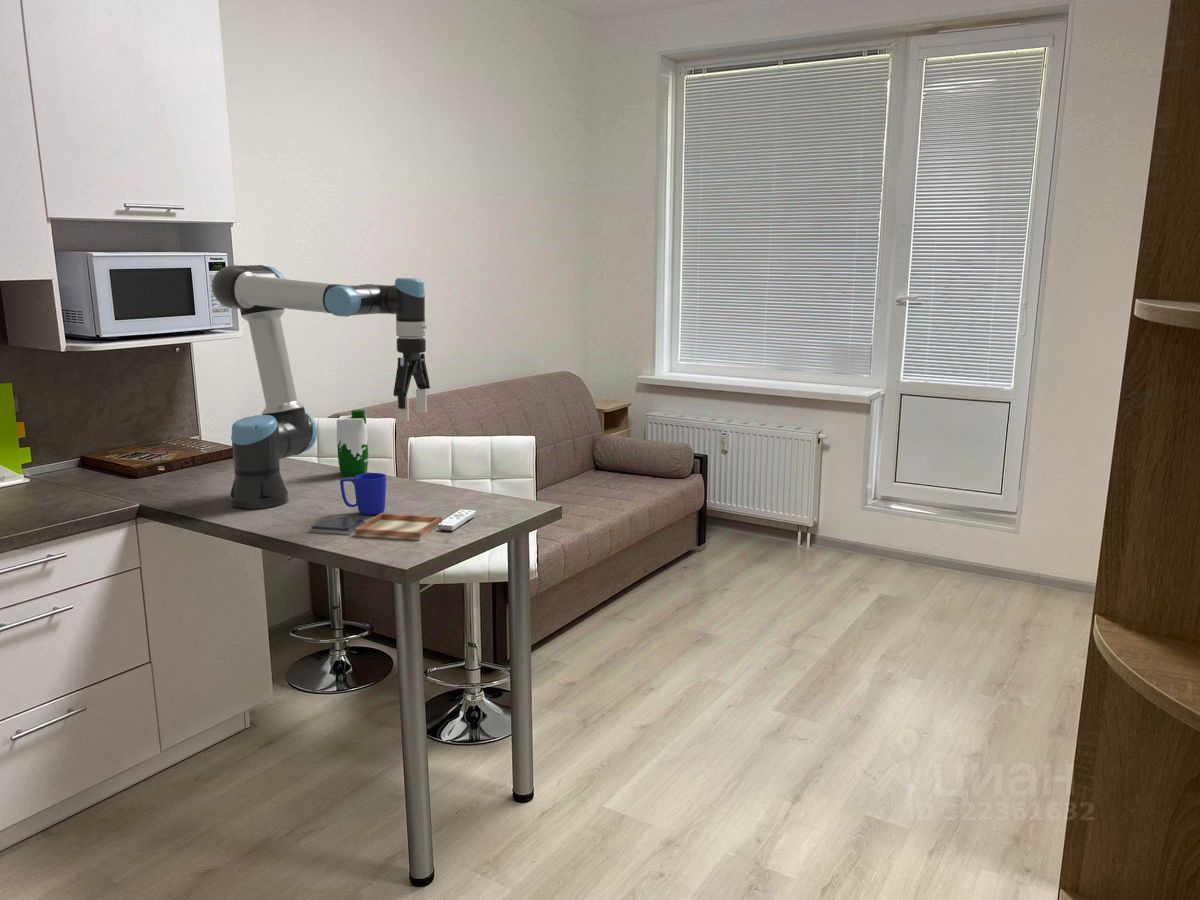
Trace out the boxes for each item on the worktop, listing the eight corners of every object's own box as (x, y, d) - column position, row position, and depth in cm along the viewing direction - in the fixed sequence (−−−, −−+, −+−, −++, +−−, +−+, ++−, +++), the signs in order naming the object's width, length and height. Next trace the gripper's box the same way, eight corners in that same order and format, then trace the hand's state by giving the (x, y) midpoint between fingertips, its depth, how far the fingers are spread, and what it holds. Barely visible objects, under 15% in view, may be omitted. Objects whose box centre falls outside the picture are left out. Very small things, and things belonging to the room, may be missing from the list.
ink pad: (308, 532, 223) (308, 526, 223) (326, 522, 232) (325, 516, 232) (350, 534, 221) (349, 529, 221) (366, 524, 230) (366, 519, 230)
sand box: (355, 536, 220) (354, 528, 220) (380, 520, 234) (380, 513, 234) (420, 540, 217) (419, 532, 217) (442, 523, 231) (441, 516, 231)
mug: (346, 508, 245) (344, 472, 243) (391, 509, 245) (389, 472, 243) (337, 516, 237) (335, 479, 235) (383, 517, 237) (381, 479, 235)
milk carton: (366, 476, 283) (363, 412, 279) (336, 476, 282) (333, 413, 278) (370, 470, 292) (367, 408, 288) (341, 470, 291) (338, 408, 287)
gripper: (407, 341, 228) (409, 425, 233) (440, 334, 252) (441, 410, 257) (378, 340, 229) (381, 423, 234) (414, 333, 254) (416, 408, 258)
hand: (412, 416), depth 245 cm, fingers open, 13 cm apart
